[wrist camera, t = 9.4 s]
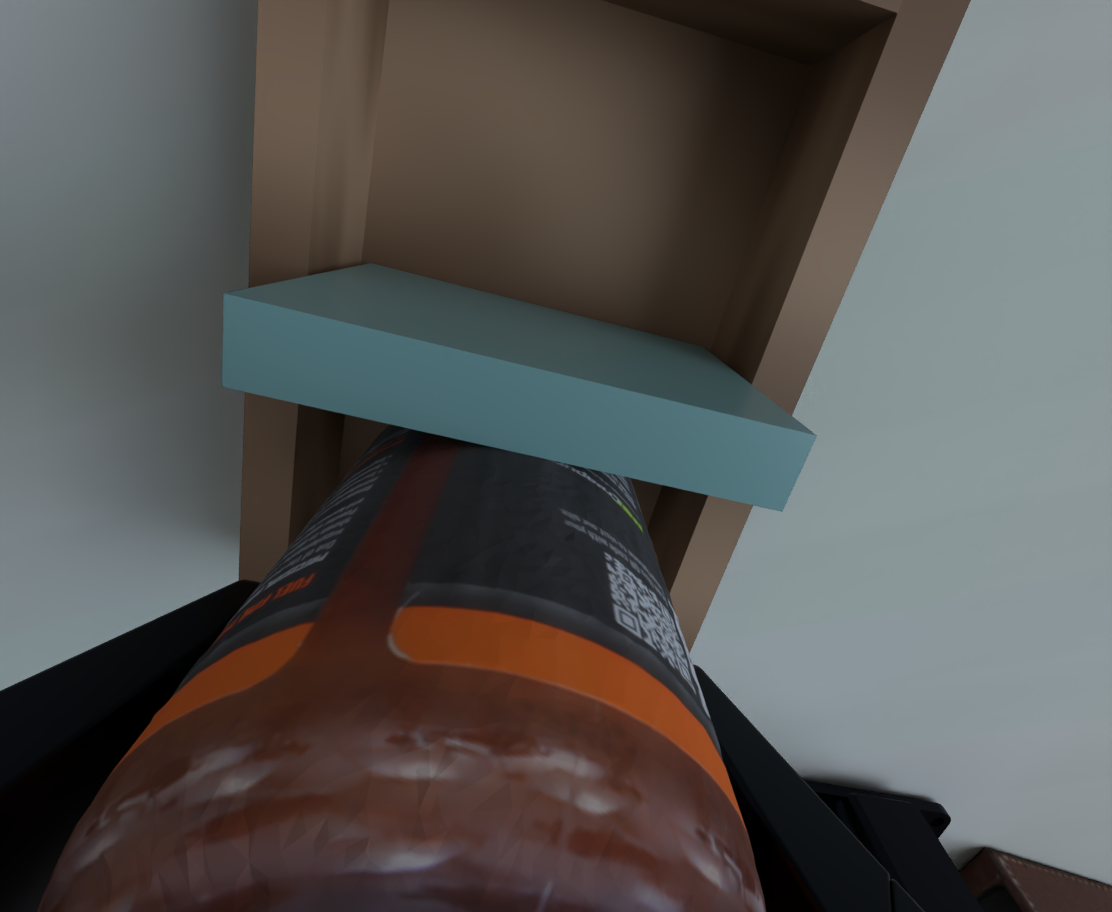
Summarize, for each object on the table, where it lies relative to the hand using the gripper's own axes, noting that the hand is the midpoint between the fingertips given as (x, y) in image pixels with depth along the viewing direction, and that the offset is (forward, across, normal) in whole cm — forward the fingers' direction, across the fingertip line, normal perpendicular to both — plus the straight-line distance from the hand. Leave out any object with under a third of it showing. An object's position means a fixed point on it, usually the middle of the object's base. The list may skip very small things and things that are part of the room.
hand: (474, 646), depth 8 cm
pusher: (+6, 0, -4) cm, 7 cm away
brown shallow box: (+8, 0, -3) cm, 8 cm away
